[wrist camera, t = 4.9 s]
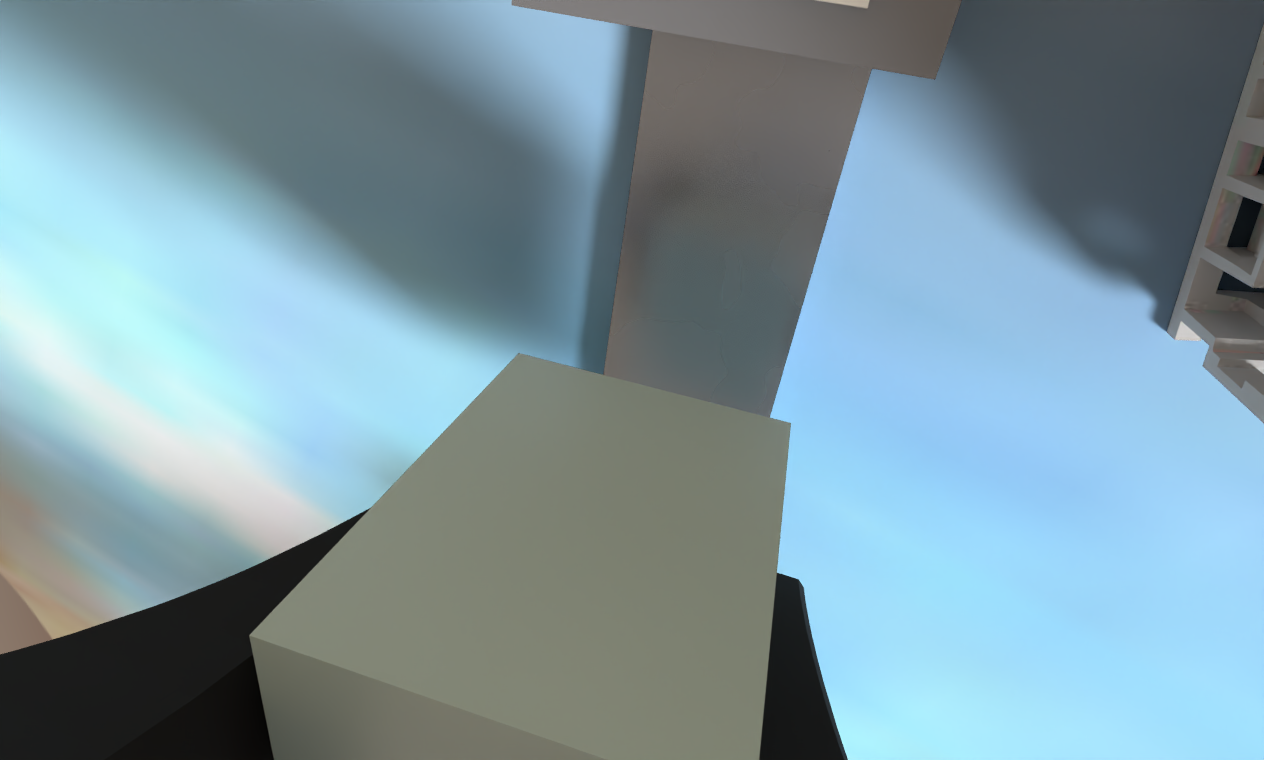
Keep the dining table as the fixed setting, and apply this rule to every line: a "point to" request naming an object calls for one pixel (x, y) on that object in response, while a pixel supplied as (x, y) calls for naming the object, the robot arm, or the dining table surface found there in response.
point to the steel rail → (726, 215)
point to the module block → (545, 587)
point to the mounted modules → (794, 26)
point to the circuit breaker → (1231, 258)
